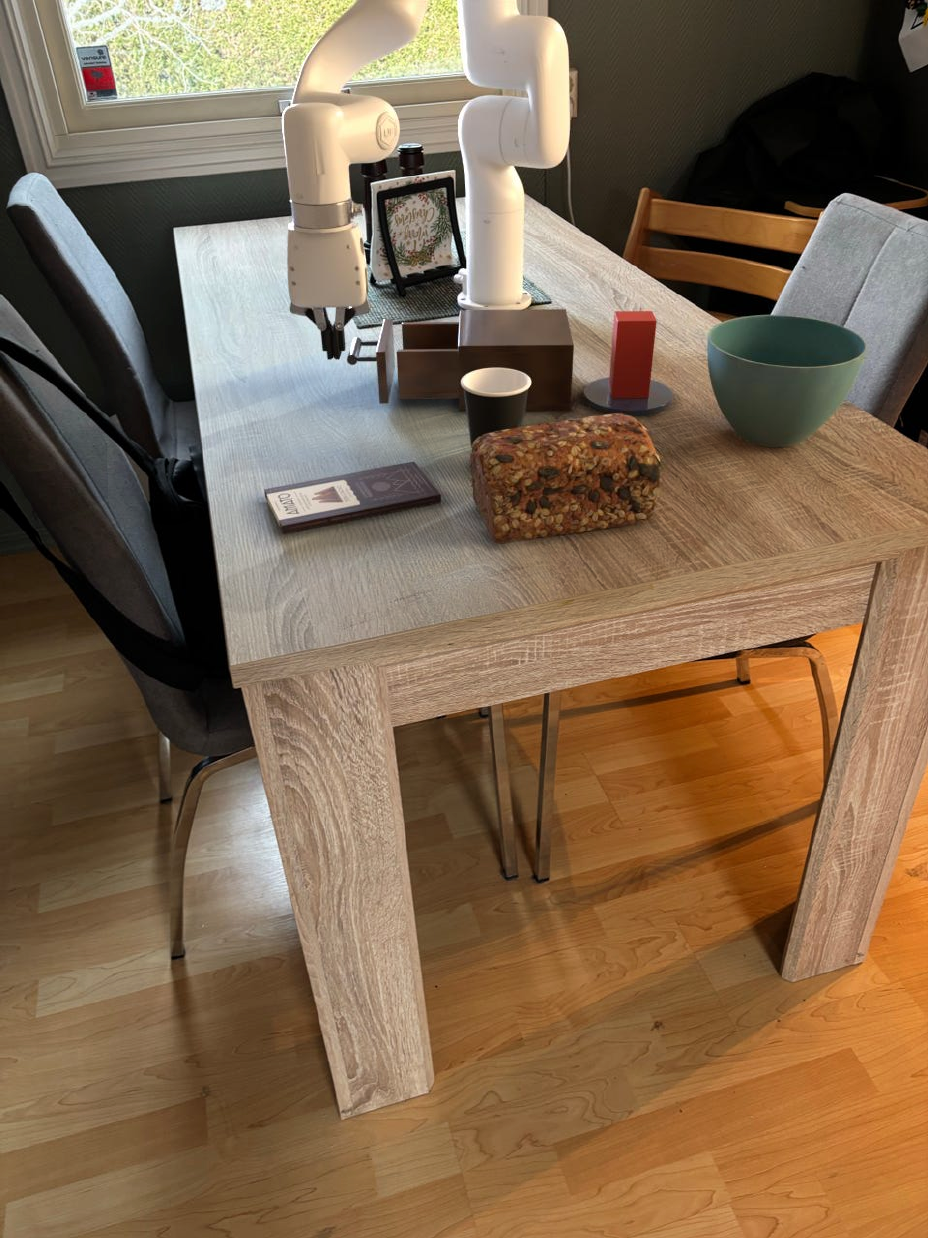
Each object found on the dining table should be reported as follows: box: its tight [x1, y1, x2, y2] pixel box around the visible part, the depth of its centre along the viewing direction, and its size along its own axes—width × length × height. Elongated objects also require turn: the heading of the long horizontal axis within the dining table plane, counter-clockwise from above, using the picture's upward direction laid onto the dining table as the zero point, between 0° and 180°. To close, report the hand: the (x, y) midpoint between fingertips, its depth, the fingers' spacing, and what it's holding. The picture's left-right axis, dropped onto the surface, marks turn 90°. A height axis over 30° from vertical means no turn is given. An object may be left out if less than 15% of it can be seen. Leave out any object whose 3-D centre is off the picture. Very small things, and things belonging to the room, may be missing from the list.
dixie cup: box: [461, 368, 531, 448], centre depth 113 cm, size 8×8×11 cm
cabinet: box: [458, 308, 575, 413], centre depth 133 cm, size 15×14×9 cm
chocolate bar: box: [263, 461, 442, 534], centre depth 110 cm, size 9×1×18 cm
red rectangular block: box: [608, 310, 657, 398], centre depth 130 cm, size 5×4×10 cm
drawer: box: [346, 318, 460, 405], centre depth 134 cm, size 18×13×7 cm
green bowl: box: [706, 314, 868, 448], centre depth 120 cm, size 18×18×12 cm
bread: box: [469, 413, 663, 544], centre depth 104 cm, size 19×11×10 cm, turn 103°
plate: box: [583, 376, 674, 417], centre depth 133 cm, size 12×12×1 cm
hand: (334, 355), depth 133 cm, fingers closed
